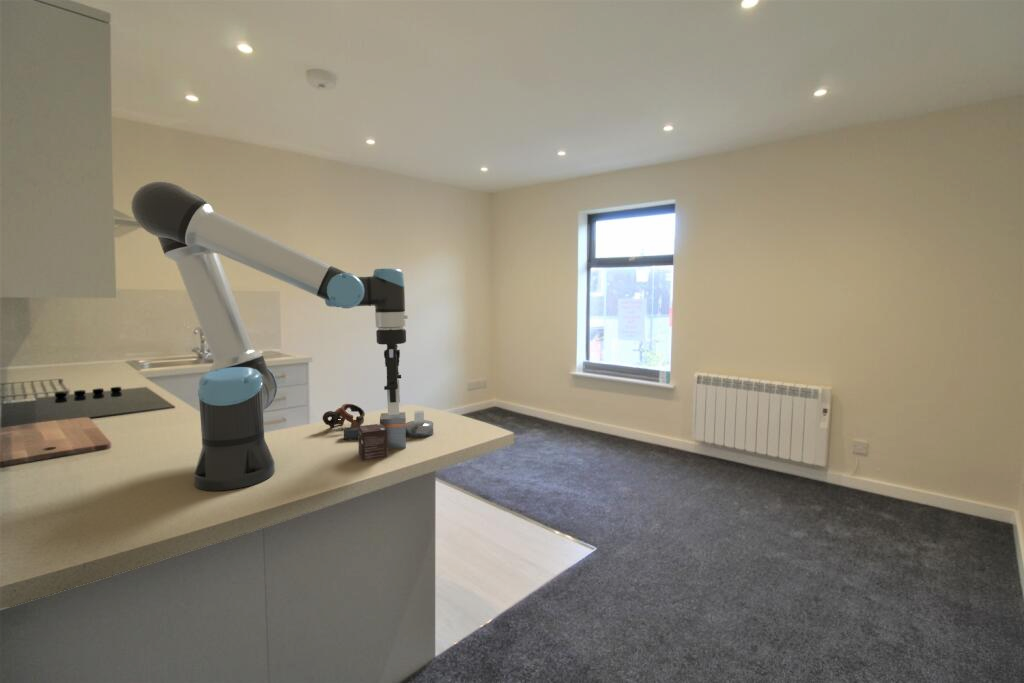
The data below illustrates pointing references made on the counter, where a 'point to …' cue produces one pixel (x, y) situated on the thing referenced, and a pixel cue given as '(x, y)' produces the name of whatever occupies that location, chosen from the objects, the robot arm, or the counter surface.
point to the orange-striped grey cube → (395, 429)
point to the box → (372, 442)
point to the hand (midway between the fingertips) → (394, 408)
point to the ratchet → (413, 428)
